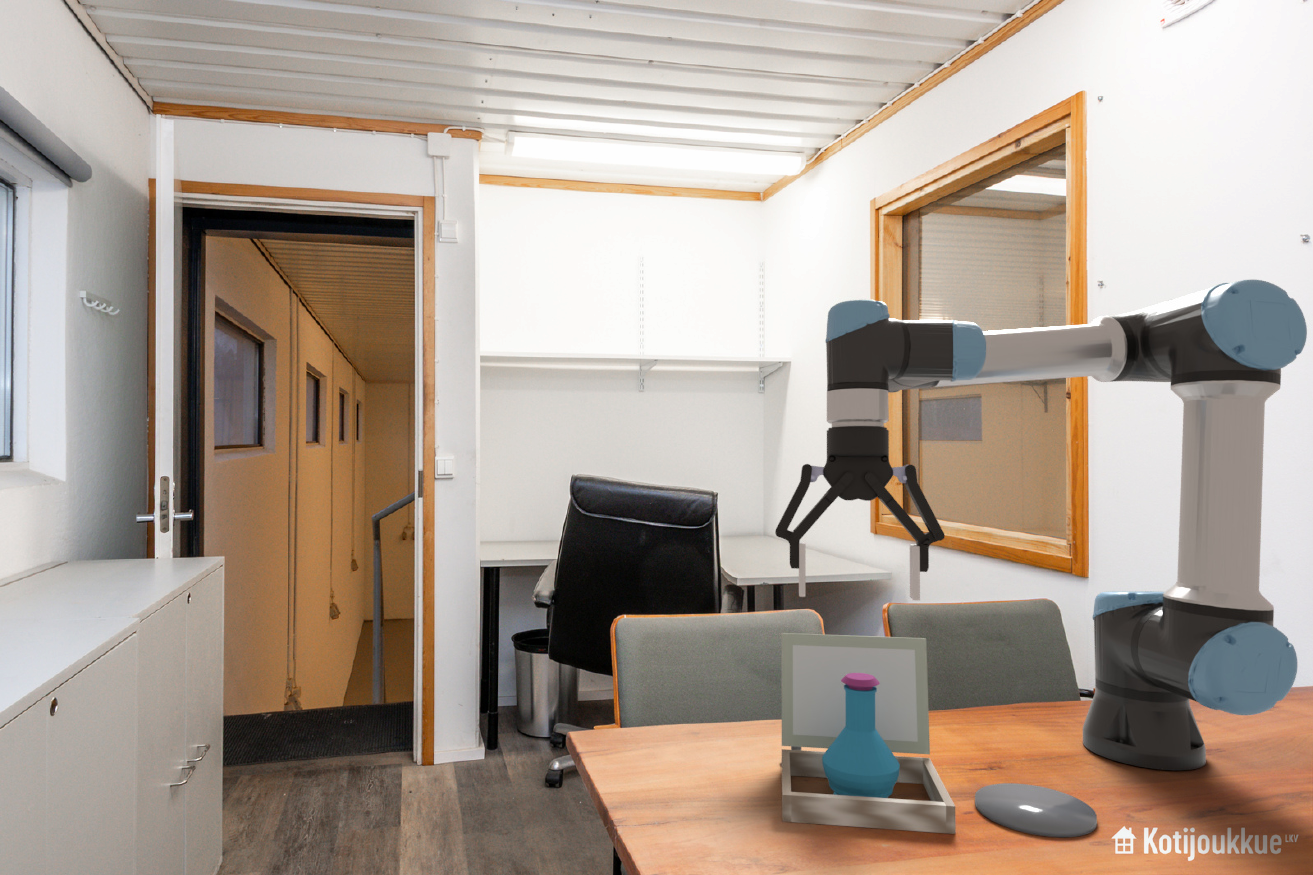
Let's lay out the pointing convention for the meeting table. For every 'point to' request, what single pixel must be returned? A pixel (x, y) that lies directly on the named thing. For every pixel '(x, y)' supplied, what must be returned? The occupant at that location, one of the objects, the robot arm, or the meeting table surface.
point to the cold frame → (868, 799)
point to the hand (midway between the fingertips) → (857, 597)
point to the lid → (821, 695)
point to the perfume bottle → (860, 746)
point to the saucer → (1035, 810)
